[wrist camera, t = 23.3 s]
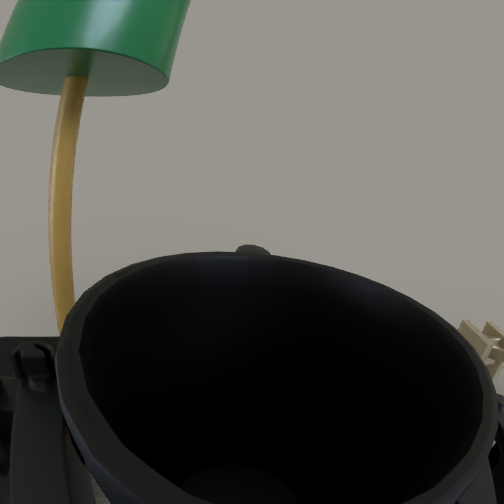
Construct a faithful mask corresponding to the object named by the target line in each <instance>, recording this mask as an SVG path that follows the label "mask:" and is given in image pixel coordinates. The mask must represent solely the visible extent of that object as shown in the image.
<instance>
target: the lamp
mask: <svg viewBox="0 0 504 504" xmlns="http://www.w3.org/2000/svg"><path fill="white" fill-rule="evenodd" d="M189 4H190V0H18V2H17V4H16V6H15V8H14V10H13V13H12V15H11V17H10V19H9V22H8V24H7V27H6V29H5V32H4V34H3V37H2V40H1V42H0V85H2V86H5V87H7V88H11V89H15V90H20V91H25V92H32V93H40V94H41V93H42V94H51V95H61V98H60V103H59V108H58V114H57V119H56V126H55V132H54V140H53V147H52V157H51V168H50V181H49V207H48V209H49V211H48V212H49V214H48V215H49V216H48V219H49V220H48V222H49V223H48V225H49V226H48V227H49V253H50V267H51V278H52V288H53V295H54V302H55V310H56V316H57V322H58V328H59V333H60V334H61V331H62V327H63V324H64V321H65V317H66V315H67V314H68V313H69V311H70V310H71V309H72V307H73V306H74V305H75V296H74V285H73V272H72V252H71V206H72V186H73V173H74V162H75V161H74V160H75V152H76V144H77V137H78V130H79V123H80V118H81V112H82V107H83V102H84V97H85V96H128V95H140V94H146V93H151V92H155V91H159V90H161V89H163V88H164V87H166V86H167V84H168V83H169V78H170V74H171V69H172V65H173V61H174V57H175V53H176V49H177V45H178V41H179V37H180V34H181V30H182V27H183V23H184V20H185V16H186V13H187V9H188V7H189Z"/></svg>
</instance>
